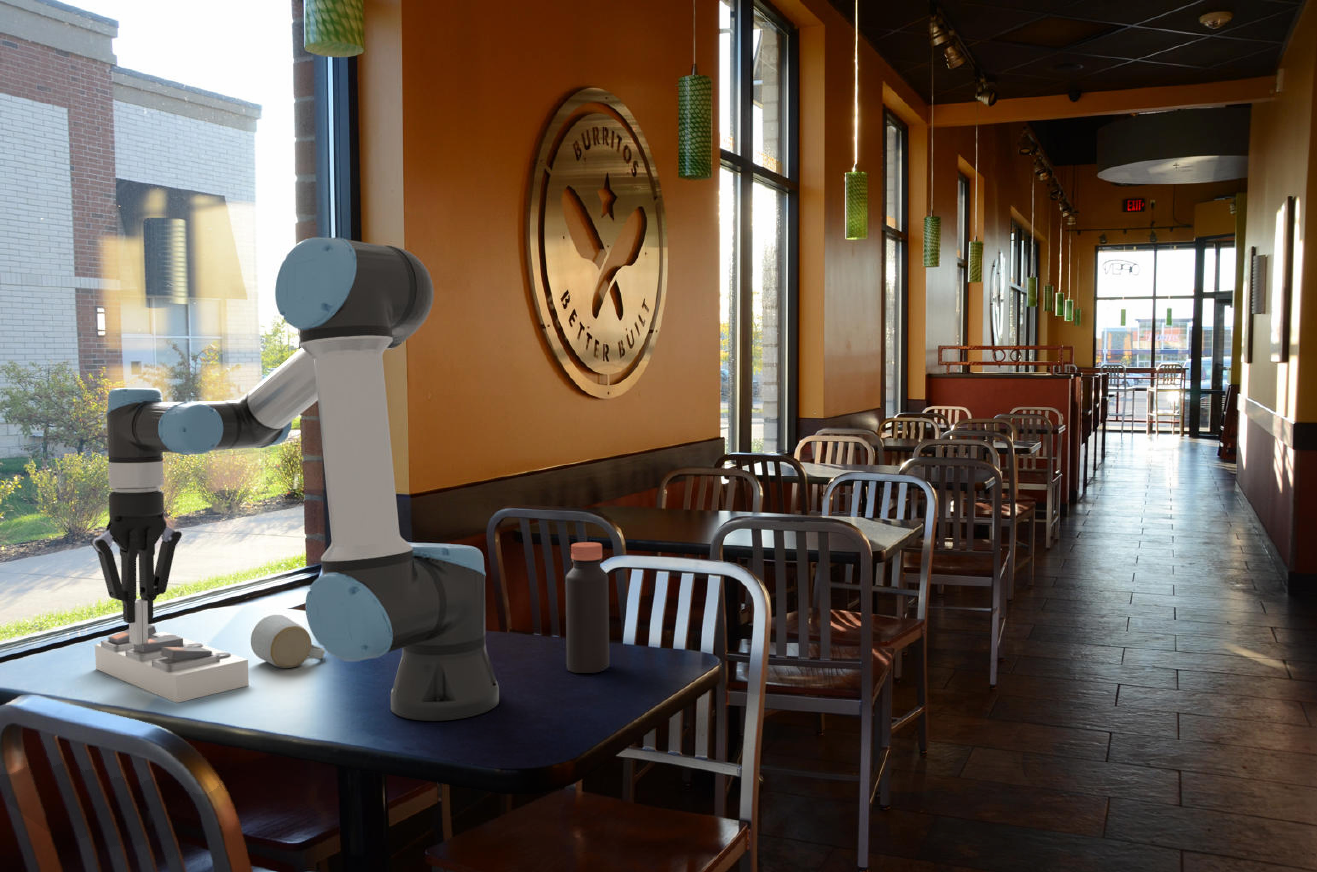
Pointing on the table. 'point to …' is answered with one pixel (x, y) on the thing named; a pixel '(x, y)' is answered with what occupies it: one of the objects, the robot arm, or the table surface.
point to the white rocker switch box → (173, 670)
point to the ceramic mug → (283, 642)
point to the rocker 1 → (127, 636)
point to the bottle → (587, 610)
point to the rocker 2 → (185, 652)
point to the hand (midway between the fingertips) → (138, 642)
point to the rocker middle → (159, 643)
